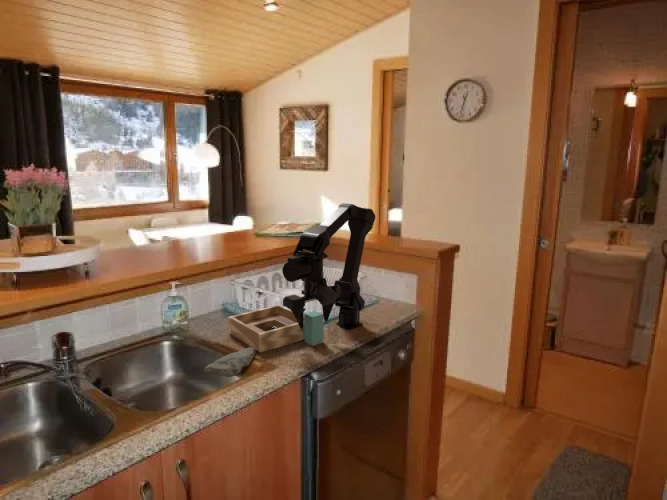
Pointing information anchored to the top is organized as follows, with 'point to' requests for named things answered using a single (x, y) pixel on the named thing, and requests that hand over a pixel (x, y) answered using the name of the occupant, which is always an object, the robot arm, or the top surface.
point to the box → (266, 328)
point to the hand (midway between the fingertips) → (313, 324)
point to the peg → (313, 328)
